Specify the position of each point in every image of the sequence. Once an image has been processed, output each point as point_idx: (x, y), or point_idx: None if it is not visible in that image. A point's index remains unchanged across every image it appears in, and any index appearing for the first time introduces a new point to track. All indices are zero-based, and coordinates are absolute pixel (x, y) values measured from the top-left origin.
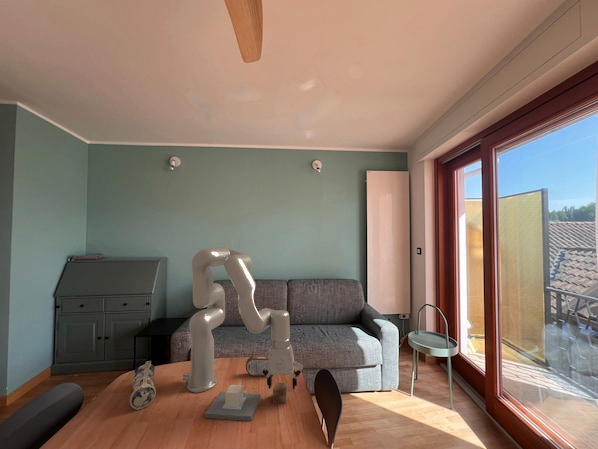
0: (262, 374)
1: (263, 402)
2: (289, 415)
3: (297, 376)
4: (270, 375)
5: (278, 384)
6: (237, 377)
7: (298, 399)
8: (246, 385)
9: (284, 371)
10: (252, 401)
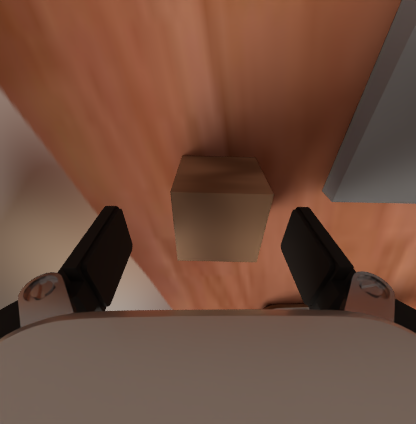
0: (304, 308)
1: (310, 155)
2: (125, 24)
3: (22, 297)
4: (324, 301)
5: (235, 246)
6: (402, 295)
7: (125, 190)
8: (376, 261)
9: (120, 388)
10: (403, 126)
